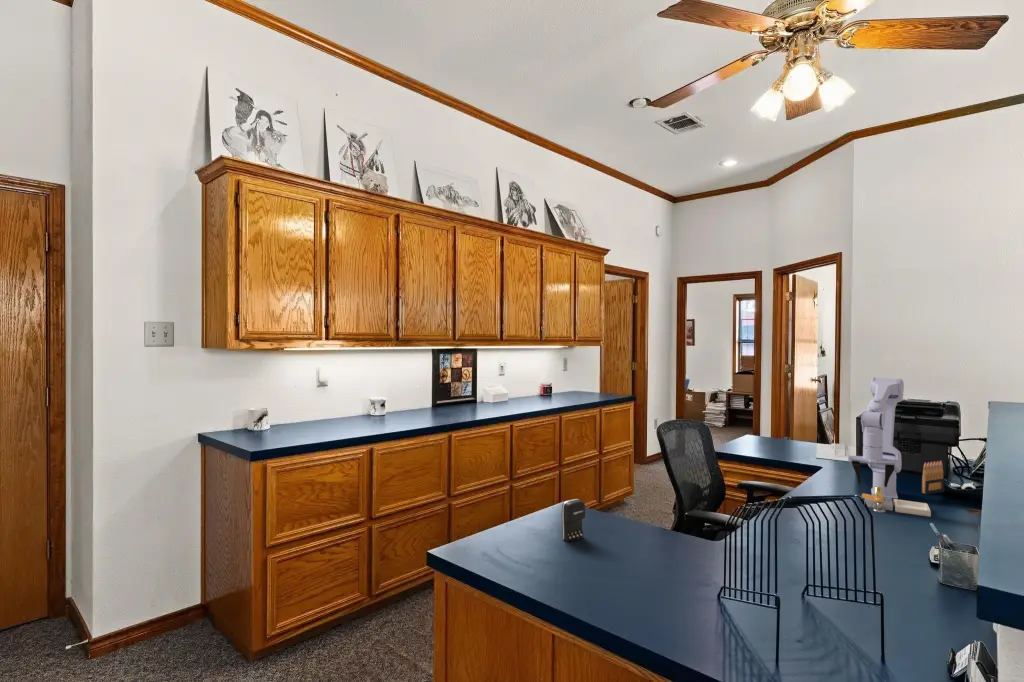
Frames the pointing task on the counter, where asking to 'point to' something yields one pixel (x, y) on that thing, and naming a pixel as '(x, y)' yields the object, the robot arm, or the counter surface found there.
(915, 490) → the counter surface
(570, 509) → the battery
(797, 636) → the counter surface
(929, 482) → the ammunition clip
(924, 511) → the tray
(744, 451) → the counter surface
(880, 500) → the keeper
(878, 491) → the pin
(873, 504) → the hitch block
